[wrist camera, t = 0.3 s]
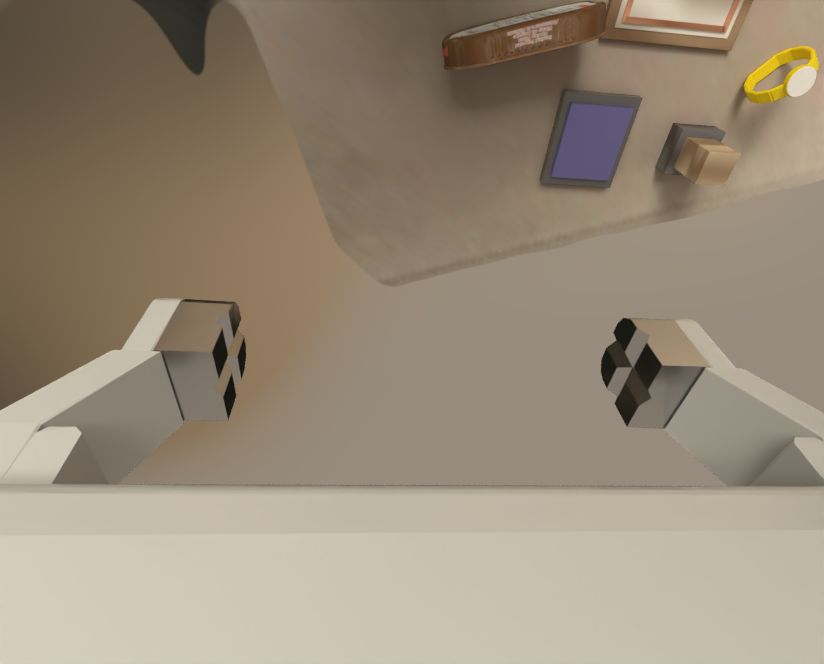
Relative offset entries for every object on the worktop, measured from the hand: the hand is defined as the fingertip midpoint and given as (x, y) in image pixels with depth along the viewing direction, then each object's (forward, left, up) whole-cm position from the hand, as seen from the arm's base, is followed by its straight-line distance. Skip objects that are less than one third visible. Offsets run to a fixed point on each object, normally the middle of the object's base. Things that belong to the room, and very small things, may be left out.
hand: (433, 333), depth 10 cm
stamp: (+9, +35, -47) cm, 59 cm away
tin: (-1, +12, -47) cm, 49 cm away
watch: (+1, +40, -47) cm, 62 cm away
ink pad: (+9, +23, -47) cm, 53 cm away
